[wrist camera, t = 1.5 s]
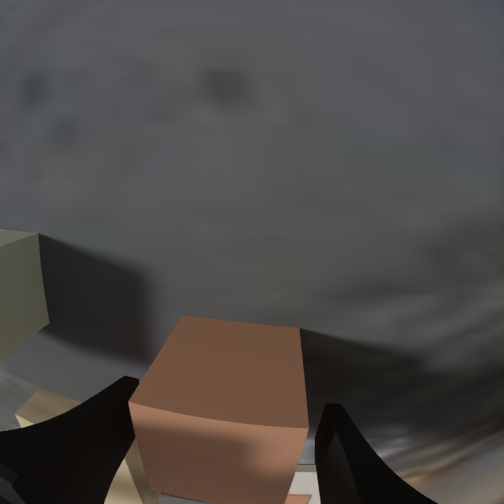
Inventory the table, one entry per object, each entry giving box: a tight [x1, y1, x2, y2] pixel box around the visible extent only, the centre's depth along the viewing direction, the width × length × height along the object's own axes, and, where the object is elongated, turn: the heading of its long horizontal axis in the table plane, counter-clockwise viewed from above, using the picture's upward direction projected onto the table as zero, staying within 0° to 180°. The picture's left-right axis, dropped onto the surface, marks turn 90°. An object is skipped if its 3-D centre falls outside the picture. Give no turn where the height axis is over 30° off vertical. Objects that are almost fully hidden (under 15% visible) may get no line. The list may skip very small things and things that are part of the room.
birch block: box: [15, 388, 161, 504], centre depth 15 cm, size 8×8×4 cm
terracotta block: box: [128, 315, 309, 504], centre depth 11 cm, size 5×5×6 cm
